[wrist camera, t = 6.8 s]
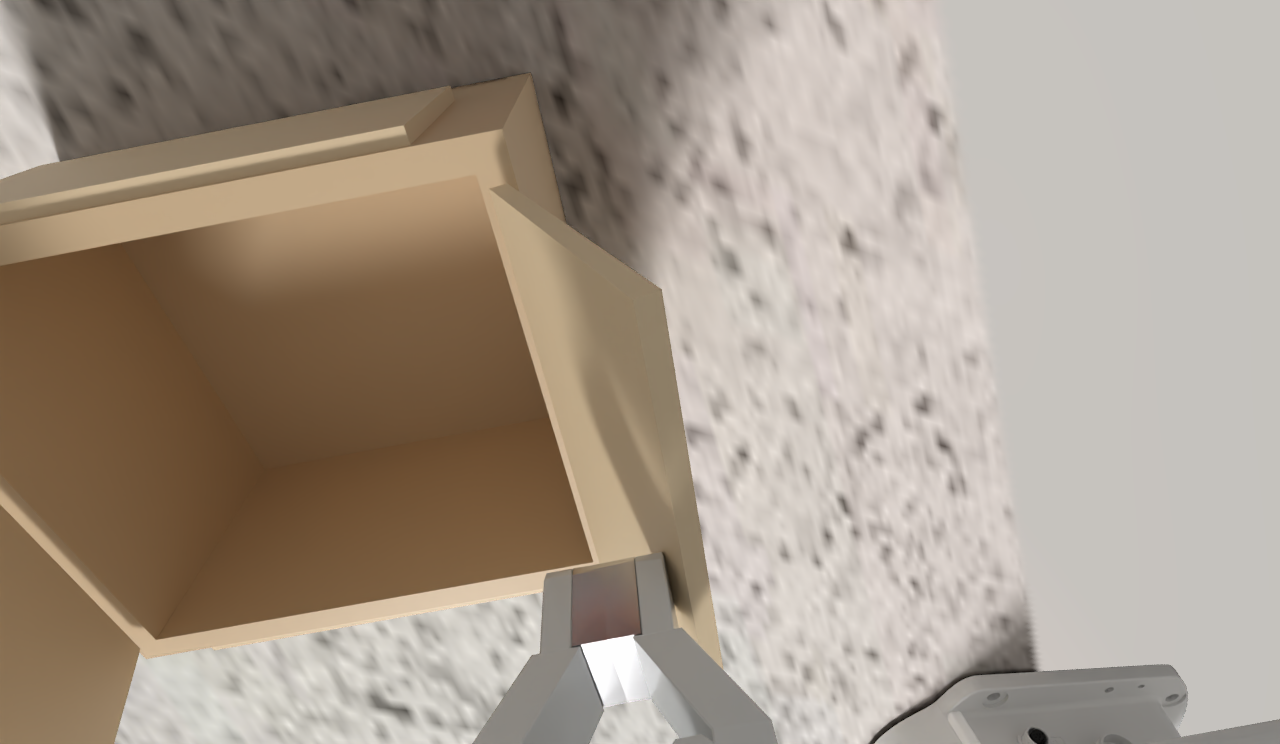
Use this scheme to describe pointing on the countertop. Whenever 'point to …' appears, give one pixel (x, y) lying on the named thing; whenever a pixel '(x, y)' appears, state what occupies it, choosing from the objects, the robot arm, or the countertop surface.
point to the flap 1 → (56, 651)
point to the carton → (286, 372)
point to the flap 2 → (612, 399)
